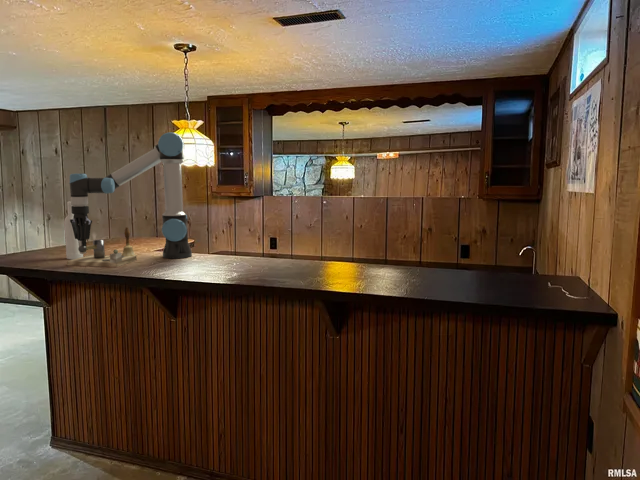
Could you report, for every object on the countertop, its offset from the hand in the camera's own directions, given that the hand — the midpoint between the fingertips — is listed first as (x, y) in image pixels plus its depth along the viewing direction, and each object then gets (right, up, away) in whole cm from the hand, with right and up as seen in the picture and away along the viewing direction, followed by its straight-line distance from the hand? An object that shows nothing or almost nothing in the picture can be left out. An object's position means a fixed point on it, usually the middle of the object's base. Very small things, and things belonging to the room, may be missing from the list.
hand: (83, 253), depth 223 cm
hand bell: (+13, -3, +23) cm, 26 cm away
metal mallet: (+3, -3, +2) cm, 5 cm away
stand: (+8, -5, +5) cm, 10 cm away
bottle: (-13, -3, +17) cm, 22 cm away
